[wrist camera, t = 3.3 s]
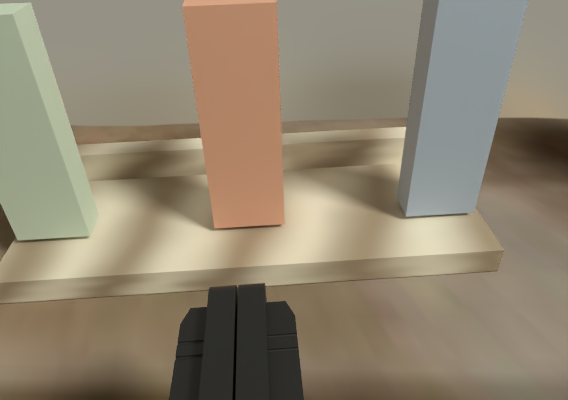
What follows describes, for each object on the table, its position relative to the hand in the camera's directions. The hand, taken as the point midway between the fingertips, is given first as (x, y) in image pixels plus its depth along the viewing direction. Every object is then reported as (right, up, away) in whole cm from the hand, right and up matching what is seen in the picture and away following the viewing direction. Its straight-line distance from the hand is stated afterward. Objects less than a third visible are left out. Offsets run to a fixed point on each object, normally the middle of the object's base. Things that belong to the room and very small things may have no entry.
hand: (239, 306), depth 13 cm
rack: (-1, +2, +17) cm, 18 cm away
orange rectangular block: (-1, +2, +15) cm, 15 cm away
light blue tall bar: (+10, +3, +15) cm, 18 cm away
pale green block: (-12, +1, +14) cm, 19 cm away
